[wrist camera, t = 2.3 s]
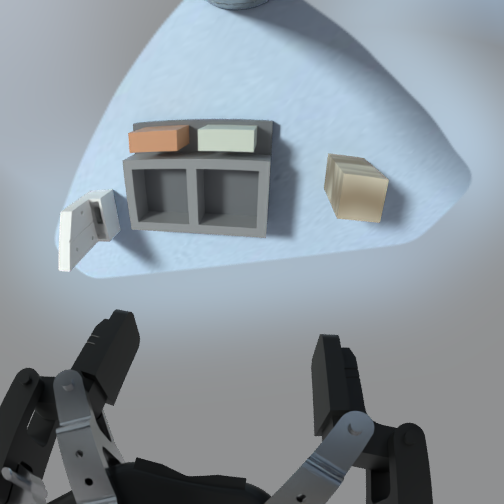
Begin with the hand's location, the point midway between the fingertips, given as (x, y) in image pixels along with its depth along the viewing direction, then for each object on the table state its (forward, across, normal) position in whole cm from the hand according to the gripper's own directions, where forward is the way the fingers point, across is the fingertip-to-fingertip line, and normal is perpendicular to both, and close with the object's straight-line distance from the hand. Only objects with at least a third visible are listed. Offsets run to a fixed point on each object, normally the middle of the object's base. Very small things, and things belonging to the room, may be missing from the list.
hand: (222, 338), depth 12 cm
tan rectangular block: (+22, -9, -2) cm, 24 cm away
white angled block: (+23, +20, +5) cm, 30 cm away
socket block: (+22, +6, -1) cm, 23 cm away
